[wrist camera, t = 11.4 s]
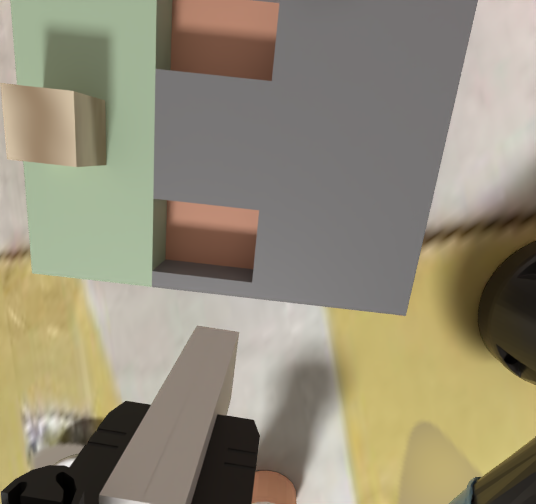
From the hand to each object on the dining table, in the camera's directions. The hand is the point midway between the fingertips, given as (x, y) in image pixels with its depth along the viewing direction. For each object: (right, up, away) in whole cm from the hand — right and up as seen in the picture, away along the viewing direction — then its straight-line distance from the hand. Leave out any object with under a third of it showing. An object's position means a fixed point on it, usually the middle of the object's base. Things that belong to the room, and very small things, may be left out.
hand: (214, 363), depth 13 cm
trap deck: (-1, +14, +20) cm, 24 cm away
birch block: (-14, +14, +16) cm, 25 cm away
